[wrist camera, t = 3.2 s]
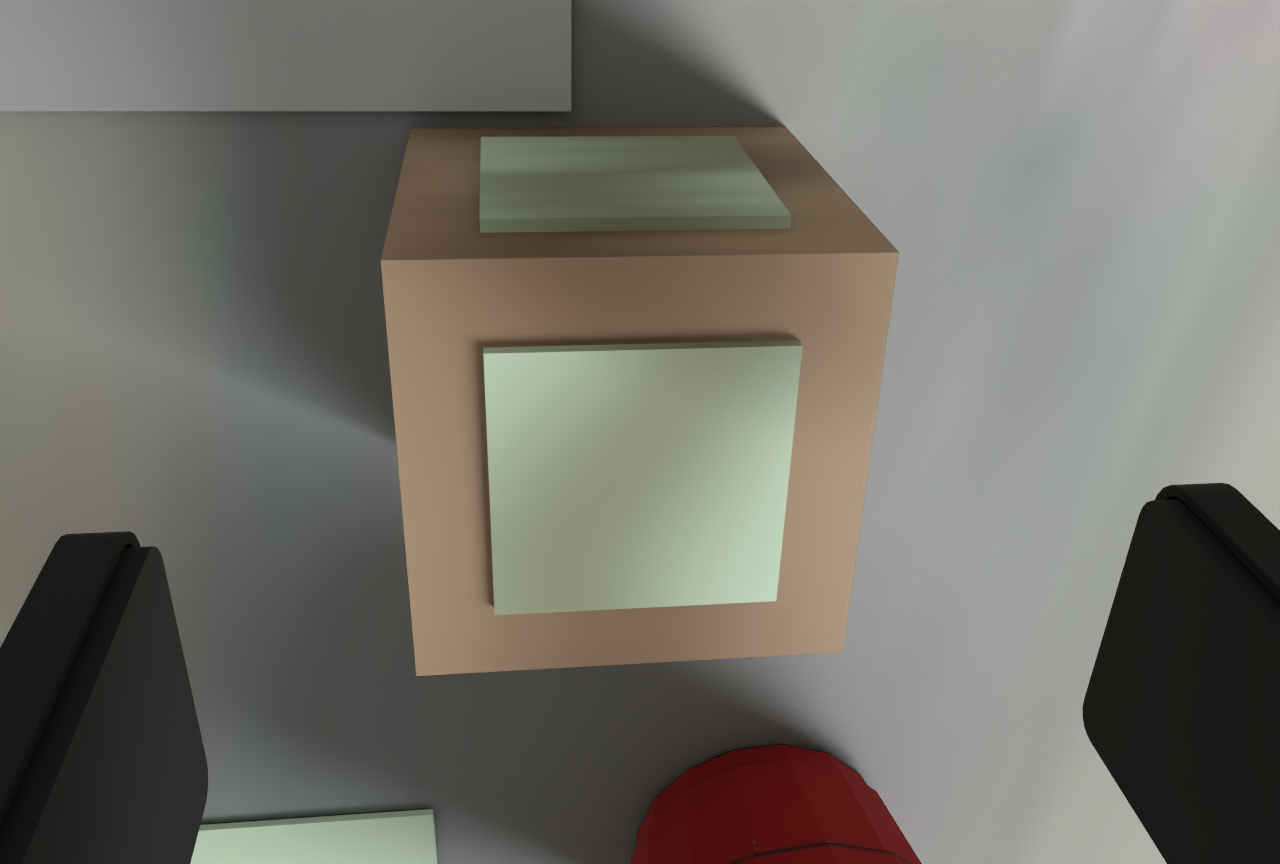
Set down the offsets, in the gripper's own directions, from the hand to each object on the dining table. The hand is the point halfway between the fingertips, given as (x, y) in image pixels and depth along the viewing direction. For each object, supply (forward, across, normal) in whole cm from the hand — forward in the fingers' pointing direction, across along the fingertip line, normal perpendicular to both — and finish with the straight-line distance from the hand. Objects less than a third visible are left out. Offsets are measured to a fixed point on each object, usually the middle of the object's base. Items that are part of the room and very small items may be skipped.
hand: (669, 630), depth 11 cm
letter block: (+10, 0, +1) cm, 10 cm away
